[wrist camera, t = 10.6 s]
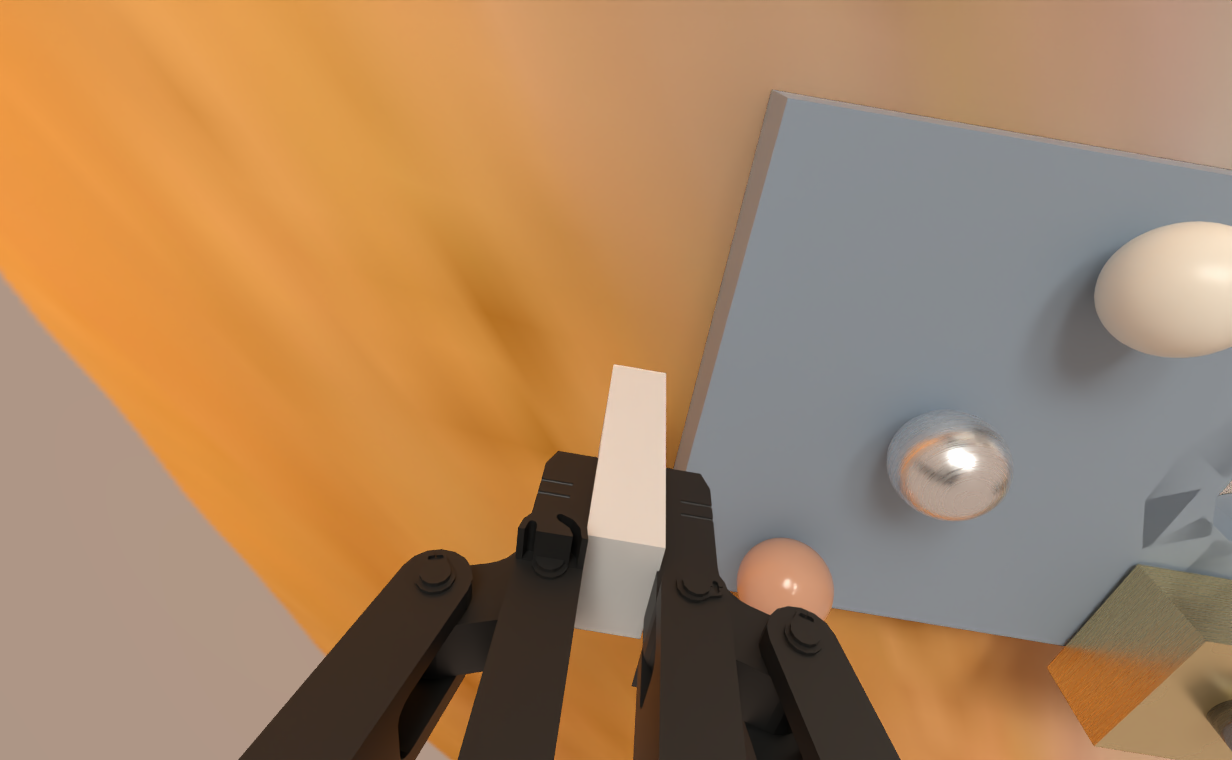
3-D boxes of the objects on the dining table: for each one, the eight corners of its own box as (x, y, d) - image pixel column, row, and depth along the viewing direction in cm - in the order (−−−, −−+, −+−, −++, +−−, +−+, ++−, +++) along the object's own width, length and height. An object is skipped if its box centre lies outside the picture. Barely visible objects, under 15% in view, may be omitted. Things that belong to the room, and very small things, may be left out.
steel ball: (895, 381, 18) (939, 445, 15) (1000, 398, 18) (1062, 466, 15) (857, 463, 19) (889, 535, 16) (953, 479, 19) (1001, 554, 16)
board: (771, 89, 16) (787, 97, 14) (1615, 237, 16) (1759, 267, 14) (657, 531, 25) (656, 578, 23) (1209, 623, 25) (1260, 678, 23)
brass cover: (1137, 564, 20) (1234, 672, 17) (1306, 592, 20) (1436, 705, 17) (1046, 667, 23) (1112, 776, 20) (1193, 691, 23) (1284, 804, 20)
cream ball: (1110, 196, 14) (1214, 233, 12) (1236, 217, 15) (1369, 260, 12) (1042, 313, 16) (1120, 369, 13) (1156, 332, 16) (1257, 393, 13)
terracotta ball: (745, 511, 21) (757, 584, 18) (834, 526, 21) (860, 601, 18) (723, 573, 22) (731, 649, 19) (805, 586, 22) (825, 664, 19)
